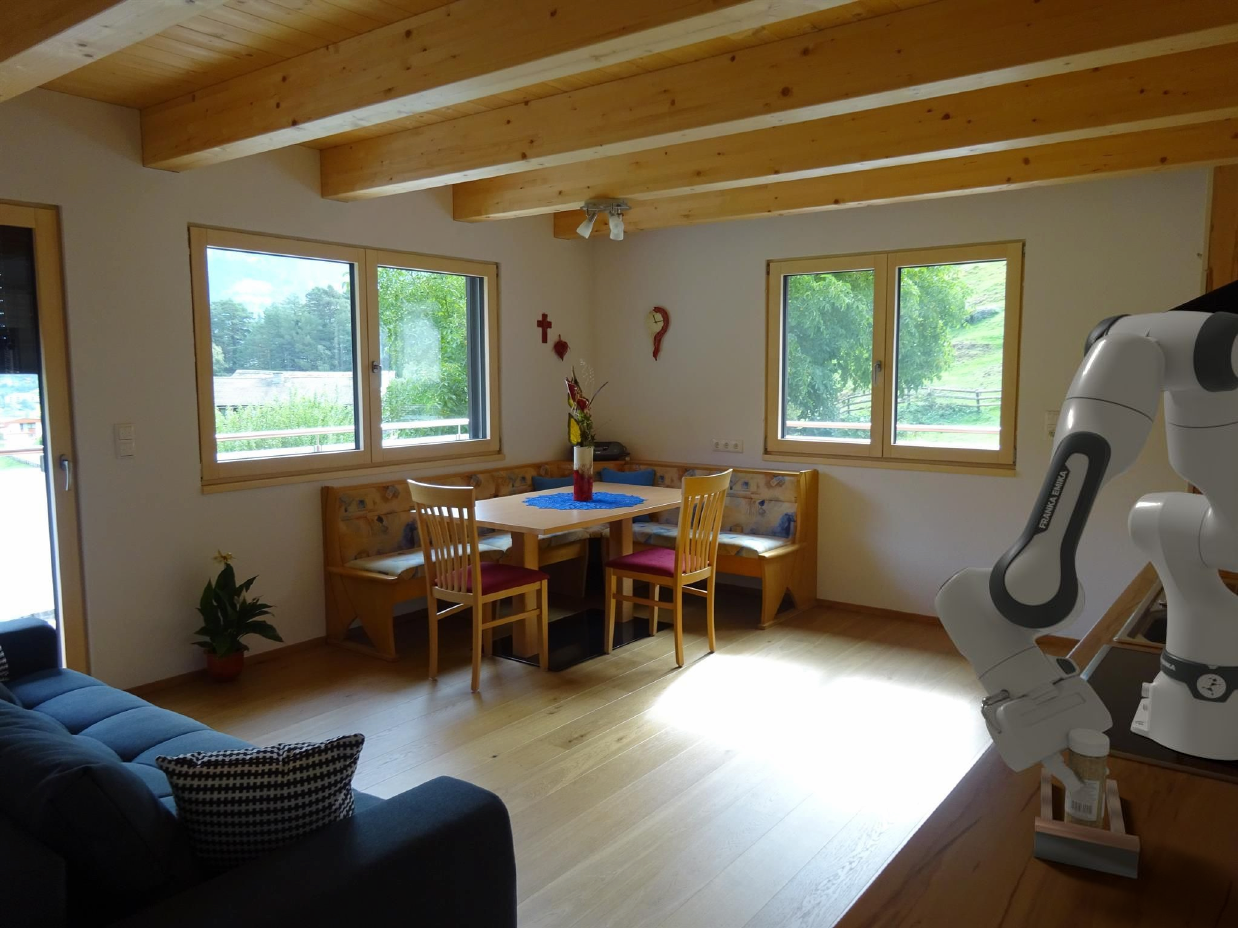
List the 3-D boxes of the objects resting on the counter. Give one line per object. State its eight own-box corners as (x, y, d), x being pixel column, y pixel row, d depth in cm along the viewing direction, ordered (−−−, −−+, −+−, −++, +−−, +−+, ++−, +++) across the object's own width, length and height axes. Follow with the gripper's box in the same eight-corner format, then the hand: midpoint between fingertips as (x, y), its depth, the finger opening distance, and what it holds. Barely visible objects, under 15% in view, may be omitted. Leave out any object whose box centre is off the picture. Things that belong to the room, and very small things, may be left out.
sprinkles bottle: (1109, 839, 114) (1117, 736, 112) (1089, 850, 111) (1097, 745, 110) (1074, 823, 118) (1081, 723, 116) (1054, 833, 115) (1060, 731, 113)
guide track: (1034, 779, 131) (1036, 751, 131) (1122, 795, 127) (1124, 766, 126) (1033, 856, 111) (1035, 824, 111) (1137, 878, 107) (1140, 845, 106)
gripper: (992, 689, 112) (1064, 796, 105) (1080, 657, 123) (1150, 752, 117) (958, 712, 116) (1026, 817, 109) (1046, 678, 128) (1112, 771, 121)
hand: (1091, 783), depth 113 cm, fingers closed on sprinkles bottle, 4 cm apart
